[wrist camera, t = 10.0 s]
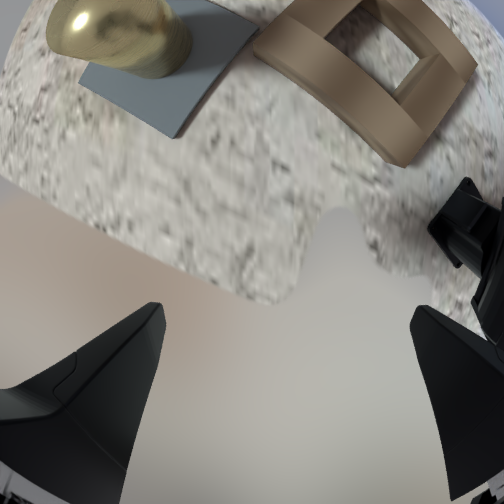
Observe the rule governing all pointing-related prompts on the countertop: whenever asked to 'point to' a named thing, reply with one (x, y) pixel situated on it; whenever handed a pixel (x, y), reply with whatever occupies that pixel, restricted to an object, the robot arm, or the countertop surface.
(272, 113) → the countertop surface
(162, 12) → the end plug
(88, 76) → the mat
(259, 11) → the countertop surface
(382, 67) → the countertop surface
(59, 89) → the countertop surface
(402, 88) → the housing
